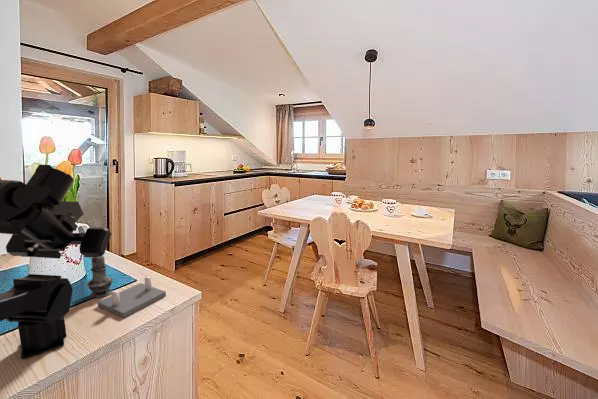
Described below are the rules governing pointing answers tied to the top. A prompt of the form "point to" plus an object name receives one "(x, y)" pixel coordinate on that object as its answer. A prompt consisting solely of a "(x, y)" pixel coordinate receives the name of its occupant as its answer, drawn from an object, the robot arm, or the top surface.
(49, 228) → the robot arm
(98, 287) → the grey tall turned piece
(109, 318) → the top surface
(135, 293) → the pin tray
